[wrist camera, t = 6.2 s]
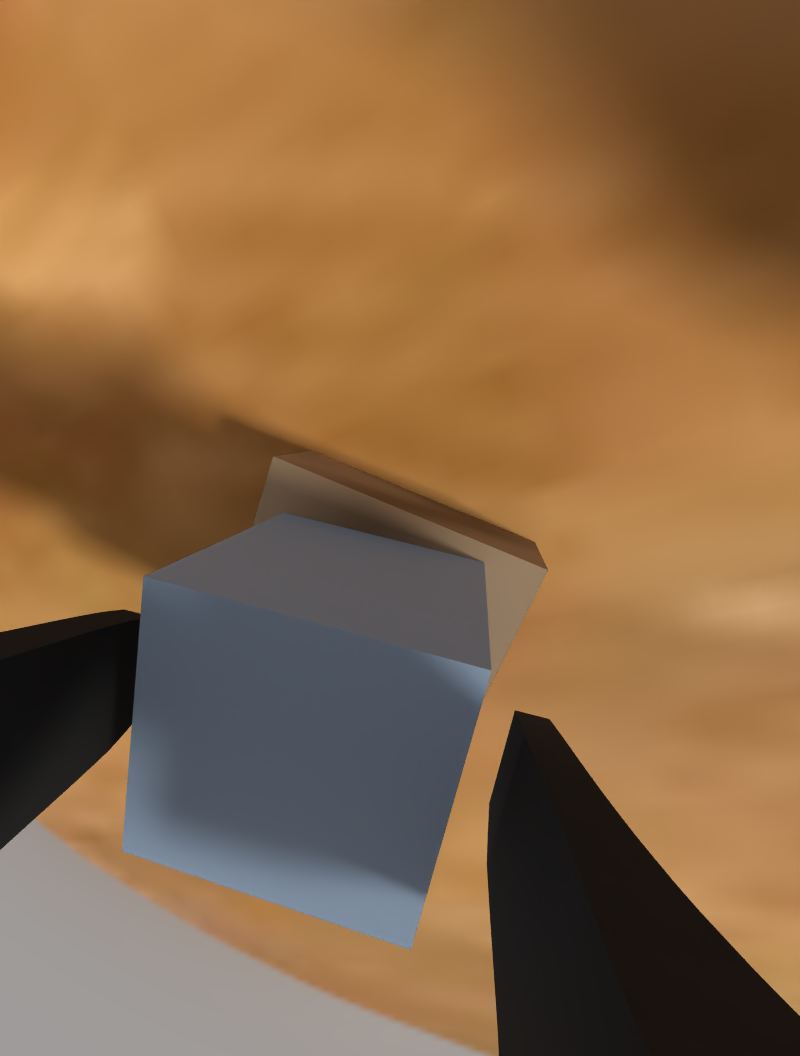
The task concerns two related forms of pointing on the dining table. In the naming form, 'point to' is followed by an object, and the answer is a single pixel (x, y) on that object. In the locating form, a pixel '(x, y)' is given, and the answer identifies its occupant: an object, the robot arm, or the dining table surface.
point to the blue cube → (307, 717)
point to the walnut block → (410, 531)
